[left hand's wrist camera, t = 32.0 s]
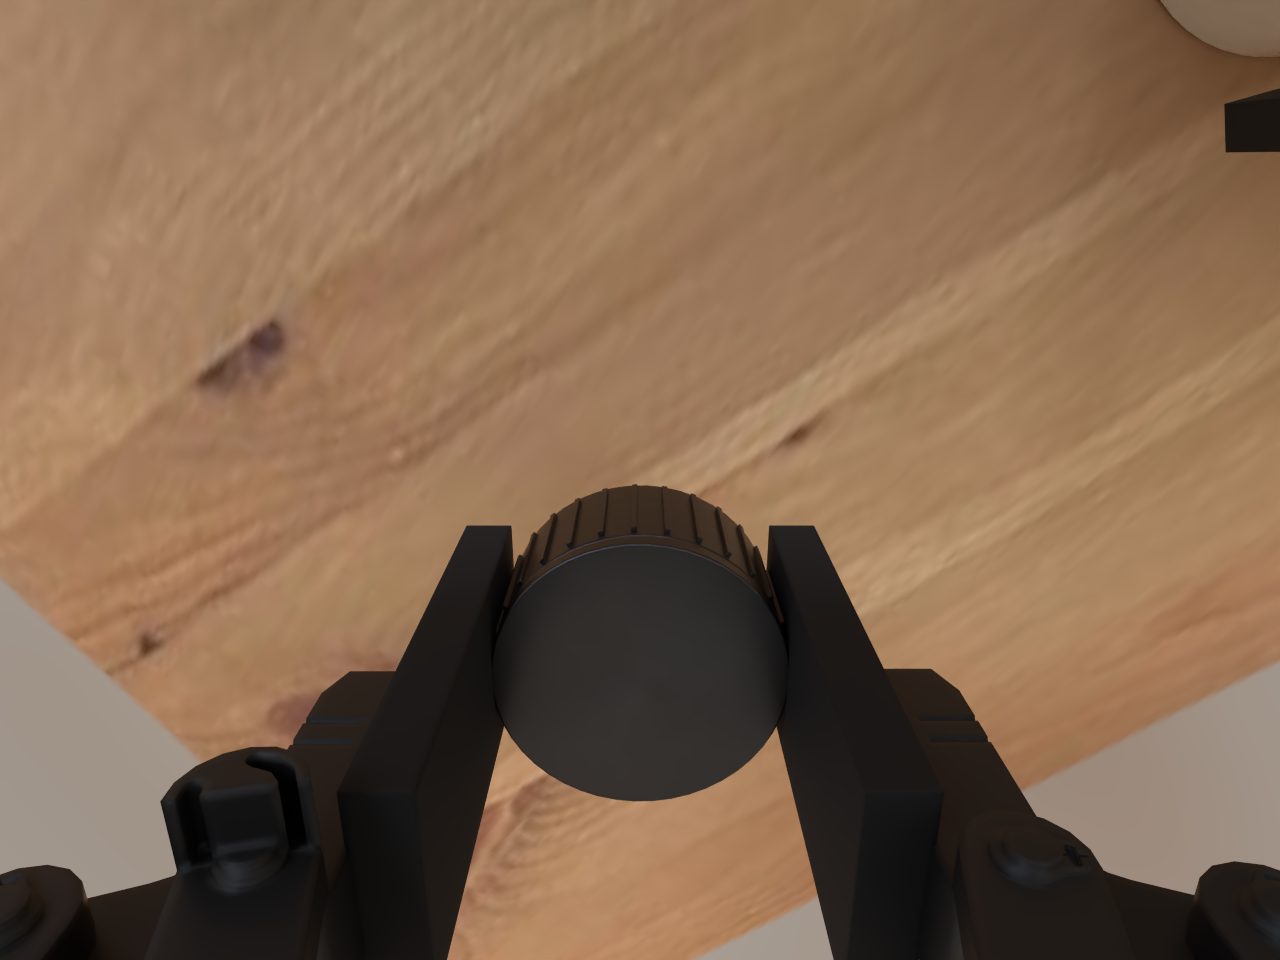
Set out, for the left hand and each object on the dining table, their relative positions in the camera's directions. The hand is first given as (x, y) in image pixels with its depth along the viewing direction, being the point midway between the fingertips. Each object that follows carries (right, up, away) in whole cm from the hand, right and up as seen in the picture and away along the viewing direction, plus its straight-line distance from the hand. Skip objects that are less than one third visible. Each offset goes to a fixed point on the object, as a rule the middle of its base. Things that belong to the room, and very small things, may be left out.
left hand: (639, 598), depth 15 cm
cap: (0, -1, -2) cm, 2 cm away
